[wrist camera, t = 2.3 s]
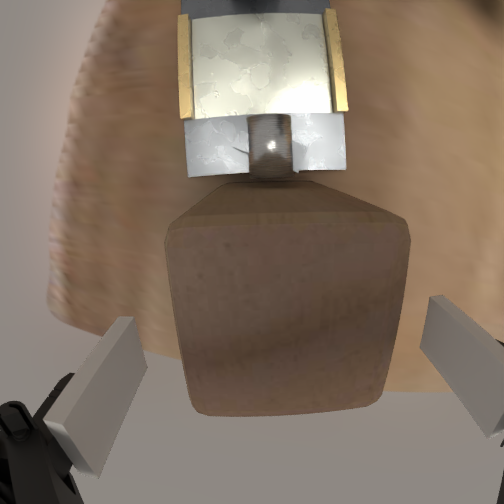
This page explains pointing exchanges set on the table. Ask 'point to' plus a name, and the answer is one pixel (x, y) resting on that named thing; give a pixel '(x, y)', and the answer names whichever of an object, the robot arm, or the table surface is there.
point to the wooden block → (285, 298)
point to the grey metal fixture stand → (261, 87)
